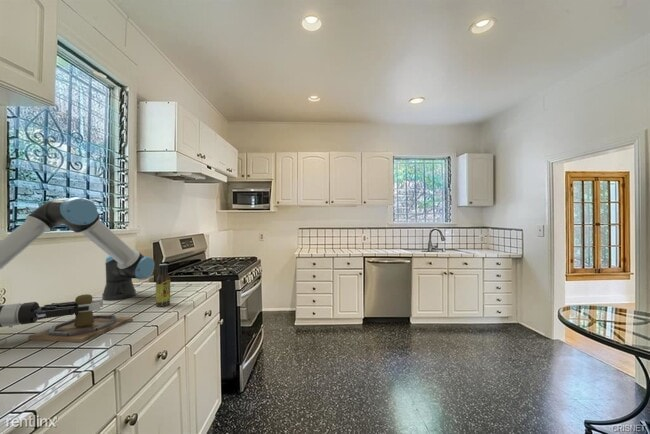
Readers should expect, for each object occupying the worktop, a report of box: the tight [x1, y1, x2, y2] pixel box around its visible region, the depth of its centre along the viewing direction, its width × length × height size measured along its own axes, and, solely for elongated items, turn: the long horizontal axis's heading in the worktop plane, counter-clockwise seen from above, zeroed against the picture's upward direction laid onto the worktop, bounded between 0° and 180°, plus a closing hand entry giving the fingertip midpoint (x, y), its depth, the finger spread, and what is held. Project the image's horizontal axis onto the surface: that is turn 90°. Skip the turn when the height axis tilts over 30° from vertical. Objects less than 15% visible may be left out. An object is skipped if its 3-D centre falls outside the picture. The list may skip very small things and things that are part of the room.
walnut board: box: [27, 316, 133, 343], centre depth 114 cm, size 22×22×1 cm
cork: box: [74, 293, 94, 326], centre depth 114 cm, size 6×6×11 cm
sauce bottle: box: [155, 263, 171, 307], centre depth 145 cm, size 6×6×20 cm
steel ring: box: [49, 314, 116, 336], centre depth 114 cm, size 19×19×1 cm
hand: (101, 304), depth 117 cm, fingers closed on cork, 4 cm apart
